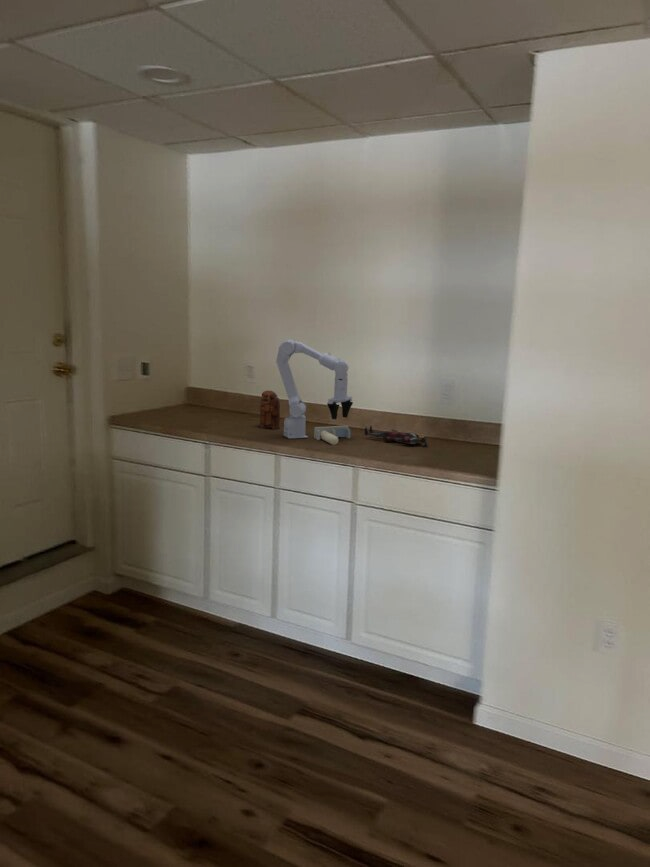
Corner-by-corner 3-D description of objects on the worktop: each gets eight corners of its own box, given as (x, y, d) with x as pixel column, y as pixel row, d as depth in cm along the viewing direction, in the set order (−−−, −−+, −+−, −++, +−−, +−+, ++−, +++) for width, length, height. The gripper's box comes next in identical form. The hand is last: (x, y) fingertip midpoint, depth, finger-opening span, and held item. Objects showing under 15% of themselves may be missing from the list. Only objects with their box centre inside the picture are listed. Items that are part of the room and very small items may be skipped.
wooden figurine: (255, 426, 319) (255, 390, 315) (263, 425, 324) (263, 389, 321) (275, 430, 313) (275, 392, 309) (282, 428, 318) (283, 391, 315)
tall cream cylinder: (339, 442, 286) (336, 434, 285) (331, 446, 285) (328, 438, 284) (329, 437, 297) (326, 429, 296) (321, 440, 296) (318, 433, 295)
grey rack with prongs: (317, 439, 293) (317, 429, 292) (314, 438, 297) (314, 427, 296) (350, 438, 300) (351, 427, 299) (347, 436, 303) (347, 425, 302)
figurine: (374, 424, 306) (434, 432, 290) (374, 436, 307) (433, 444, 291) (361, 428, 296) (421, 436, 280) (360, 441, 297) (421, 449, 281)
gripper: (337, 390, 284) (336, 421, 287) (357, 388, 295) (356, 417, 298) (324, 388, 289) (323, 419, 292) (345, 386, 300) (344, 415, 302)
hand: (339, 418), depth 295 cm, fingers open, 7 cm apart
